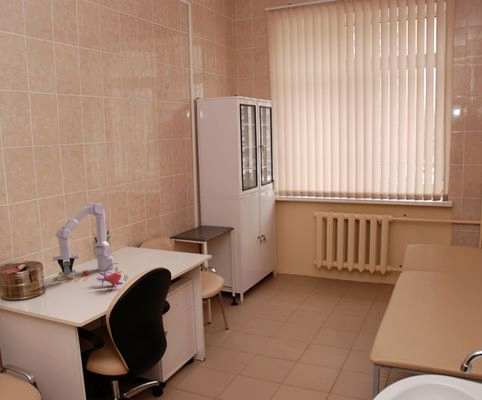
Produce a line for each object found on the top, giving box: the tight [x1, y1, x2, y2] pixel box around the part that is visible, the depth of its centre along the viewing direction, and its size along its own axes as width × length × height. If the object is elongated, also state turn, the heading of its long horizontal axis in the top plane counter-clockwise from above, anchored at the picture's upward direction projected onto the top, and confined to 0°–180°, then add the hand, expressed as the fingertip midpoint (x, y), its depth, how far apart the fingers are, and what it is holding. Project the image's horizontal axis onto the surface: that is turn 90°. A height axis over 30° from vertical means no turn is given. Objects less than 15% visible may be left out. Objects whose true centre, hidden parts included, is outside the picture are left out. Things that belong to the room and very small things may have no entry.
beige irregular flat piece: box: [54, 269, 92, 285], centre depth 284 cm, size 22×17×4 cm
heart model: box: [96, 262, 129, 292], centre depth 266 cm, size 15×9×18 cm
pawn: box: [63, 260, 71, 275], centre depth 278 cm, size 4×4×8 cm
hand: (67, 271), depth 279 cm, fingers closed on pawn, 4 cm apart
